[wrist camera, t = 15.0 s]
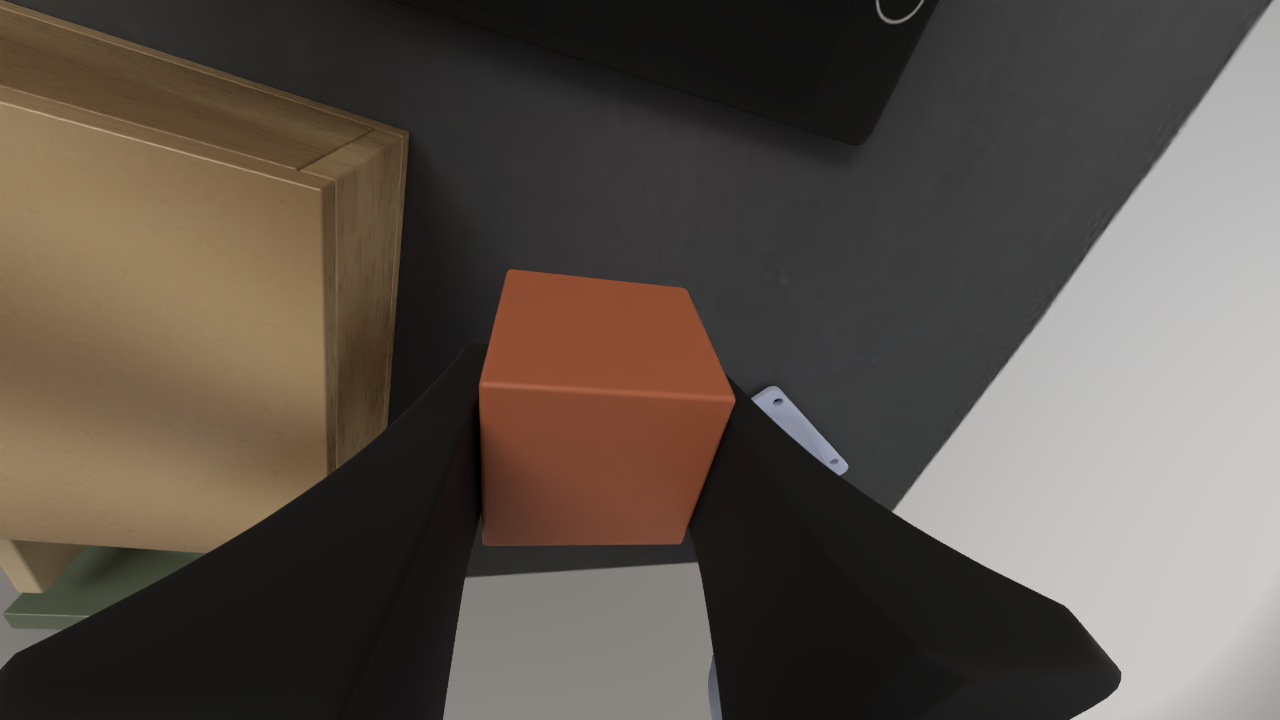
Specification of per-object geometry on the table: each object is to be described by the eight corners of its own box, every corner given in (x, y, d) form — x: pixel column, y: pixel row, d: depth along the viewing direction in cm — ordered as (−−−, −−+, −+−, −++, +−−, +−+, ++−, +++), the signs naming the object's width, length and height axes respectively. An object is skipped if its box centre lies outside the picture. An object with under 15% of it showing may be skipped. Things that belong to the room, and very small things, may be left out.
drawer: (361, 580, 29) (325, 676, 25) (132, 567, 26) (45, 674, 21) (372, 353, 20) (318, 443, 16) (17, 286, 16) (-175, 376, 12)
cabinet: (387, 432, 24) (328, 562, 18) (64, 384, 20) (-140, 530, 14) (410, 131, 16) (321, 189, 10) (-103, -35, 12) (-684, -87, 7)
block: (654, 416, 13) (682, 546, 10) (504, 408, 12) (481, 548, 9) (687, 286, 11) (739, 398, 7) (507, 266, 10) (477, 383, 7)
